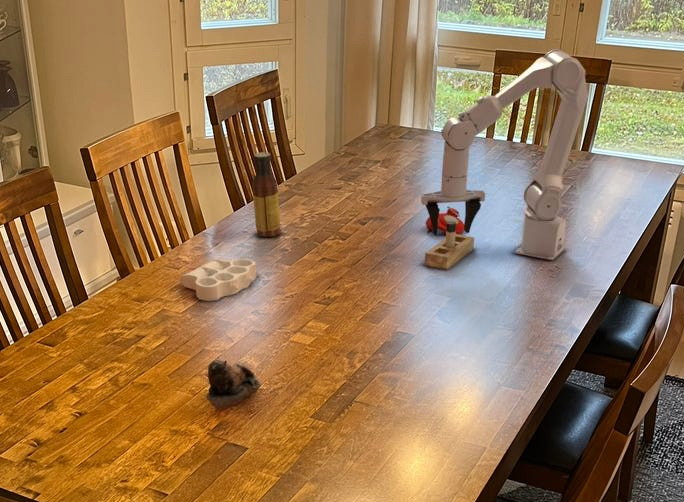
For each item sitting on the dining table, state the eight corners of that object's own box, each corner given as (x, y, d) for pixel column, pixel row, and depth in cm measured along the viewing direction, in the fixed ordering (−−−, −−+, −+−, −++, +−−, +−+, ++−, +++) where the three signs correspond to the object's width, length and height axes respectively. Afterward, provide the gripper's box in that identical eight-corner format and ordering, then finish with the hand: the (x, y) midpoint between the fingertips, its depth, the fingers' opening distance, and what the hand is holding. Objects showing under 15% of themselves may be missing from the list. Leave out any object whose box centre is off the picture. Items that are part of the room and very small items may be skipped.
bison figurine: (236, 383, 188) (233, 334, 183) (268, 391, 186) (265, 342, 180) (200, 411, 180) (195, 361, 174) (233, 420, 177) (229, 370, 171)
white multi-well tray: (221, 265, 236) (270, 278, 229) (171, 291, 224) (222, 306, 217) (220, 251, 234) (270, 264, 227) (169, 277, 222) (221, 291, 215)
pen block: (473, 249, 241) (474, 237, 239) (446, 269, 231) (447, 257, 229) (451, 245, 244) (452, 233, 242) (424, 265, 234) (425, 252, 232)
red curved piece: (470, 230, 248) (433, 224, 246) (464, 245, 251) (427, 239, 249) (461, 204, 256) (425, 197, 254) (455, 218, 259) (419, 212, 257)
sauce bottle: (282, 229, 255) (279, 150, 243) (279, 238, 250) (276, 158, 238) (256, 229, 255) (252, 150, 244) (253, 238, 250) (249, 157, 239)
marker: (455, 256, 238) (457, 222, 233) (451, 259, 236) (453, 224, 231) (447, 254, 239) (449, 220, 234) (442, 257, 237) (445, 223, 232)
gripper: (481, 167, 230) (476, 224, 238) (419, 170, 229) (416, 228, 236) (489, 176, 224) (484, 235, 232) (426, 180, 223) (423, 239, 231)
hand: (450, 232), depth 234 cm, fingers open, 7 cm apart
